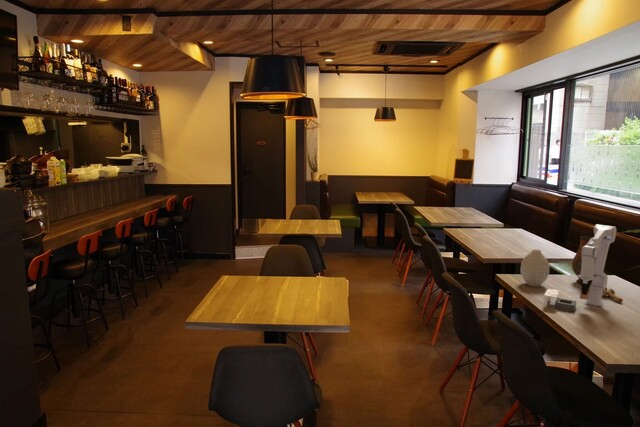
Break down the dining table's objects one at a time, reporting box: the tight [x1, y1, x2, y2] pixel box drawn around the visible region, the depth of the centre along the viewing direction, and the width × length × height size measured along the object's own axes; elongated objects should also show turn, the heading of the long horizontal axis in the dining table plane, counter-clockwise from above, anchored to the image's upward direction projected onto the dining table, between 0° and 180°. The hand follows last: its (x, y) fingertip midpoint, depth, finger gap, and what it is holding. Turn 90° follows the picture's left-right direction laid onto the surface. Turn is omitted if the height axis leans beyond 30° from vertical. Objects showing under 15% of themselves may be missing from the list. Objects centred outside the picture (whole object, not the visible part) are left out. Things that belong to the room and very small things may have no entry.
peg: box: [579, 287, 590, 301], centre depth 250 cm, size 4×4×8 cm
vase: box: [520, 248, 550, 288], centre depth 295 cm, size 16×16×22 cm
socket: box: [554, 297, 577, 313], centre depth 256 cm, size 9×9×4 cm
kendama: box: [602, 286, 624, 304], centre depth 274 cm, size 8×6×18 cm
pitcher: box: [571, 235, 597, 285], centre depth 300 cm, size 17×21×30 cm
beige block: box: [543, 288, 561, 309], centre depth 259 cm, size 14×6×7 cm, turn 146°
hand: (584, 293), depth 251 cm, fingers closed on peg, 4 cm apart
